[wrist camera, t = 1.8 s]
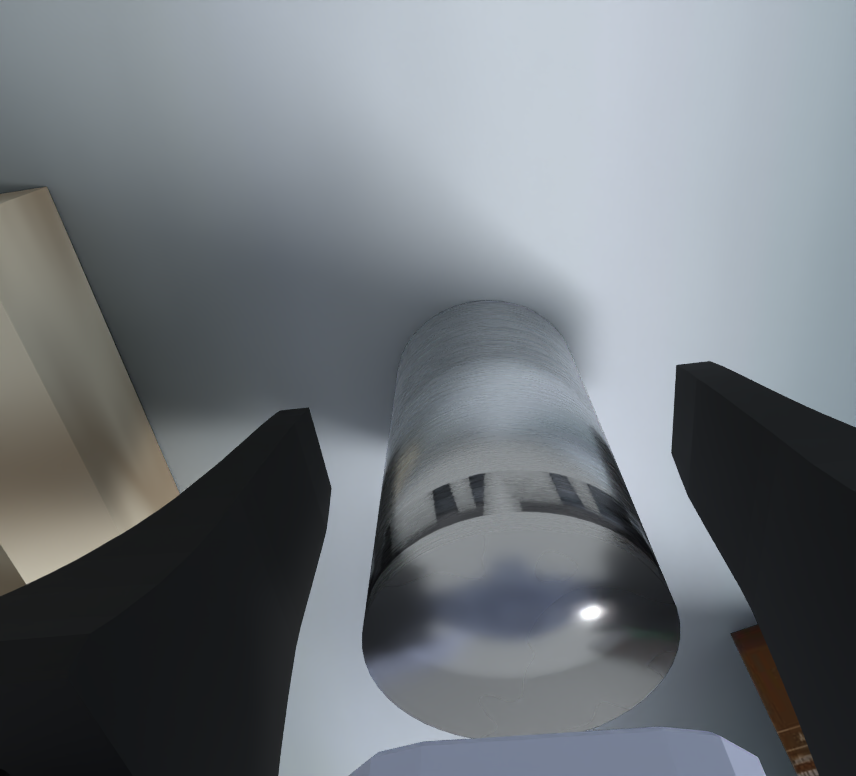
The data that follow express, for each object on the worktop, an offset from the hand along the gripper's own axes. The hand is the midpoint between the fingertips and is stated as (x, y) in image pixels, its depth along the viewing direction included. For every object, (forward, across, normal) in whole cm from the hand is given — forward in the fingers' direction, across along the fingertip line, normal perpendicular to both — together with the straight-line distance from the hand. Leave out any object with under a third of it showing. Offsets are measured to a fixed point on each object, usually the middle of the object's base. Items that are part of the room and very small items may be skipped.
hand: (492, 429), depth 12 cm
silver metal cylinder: (+2, 0, 0) cm, 2 cm away
